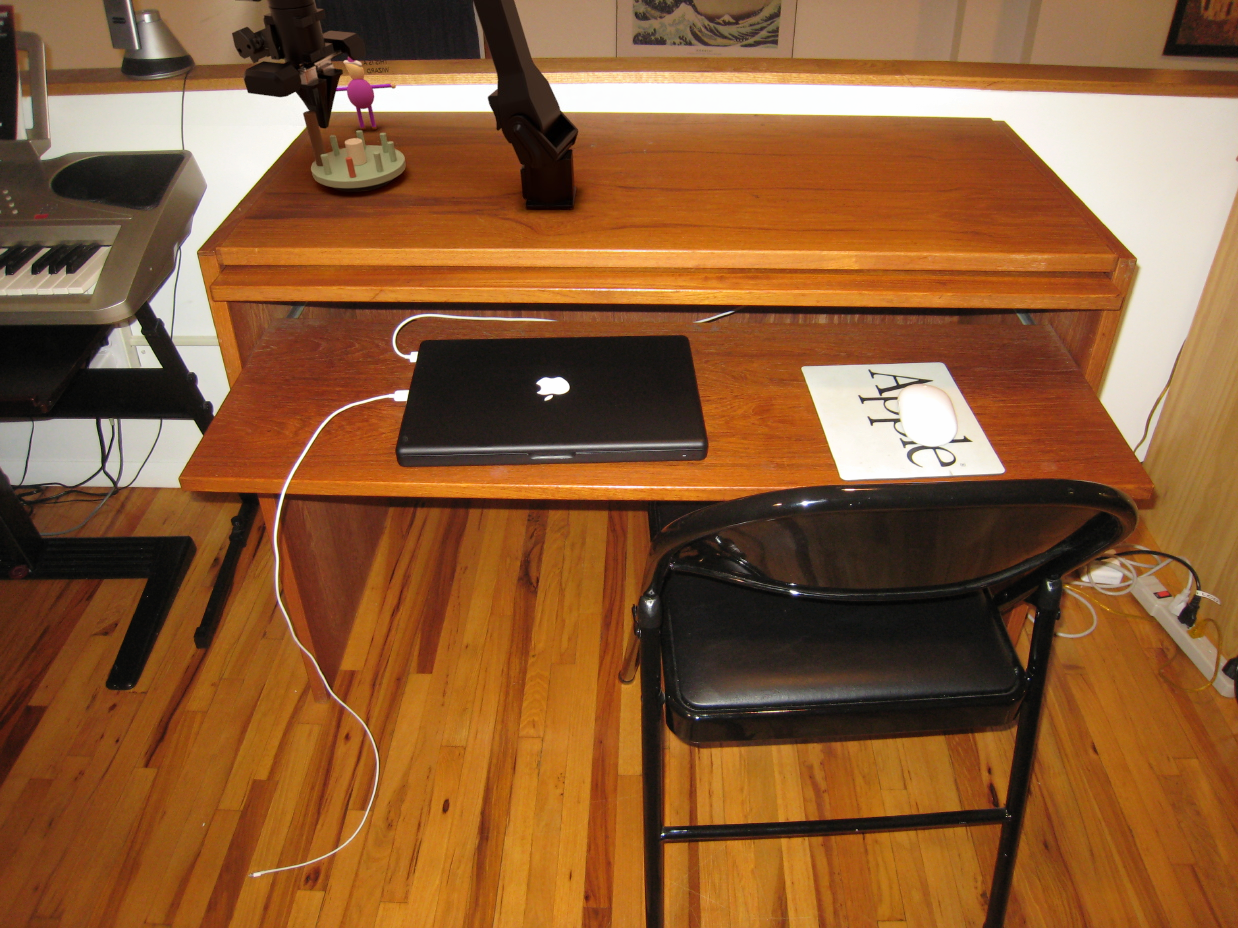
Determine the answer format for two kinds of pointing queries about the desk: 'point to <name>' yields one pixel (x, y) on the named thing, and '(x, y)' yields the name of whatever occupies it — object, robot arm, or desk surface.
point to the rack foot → (363, 187)
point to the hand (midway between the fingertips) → (324, 128)
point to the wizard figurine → (362, 89)
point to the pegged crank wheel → (352, 159)
